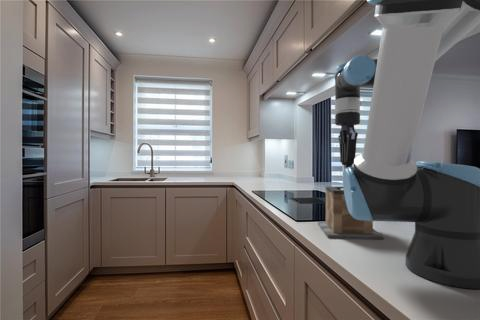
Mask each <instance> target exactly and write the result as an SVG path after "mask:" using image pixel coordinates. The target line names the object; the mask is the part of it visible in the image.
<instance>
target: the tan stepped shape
mask: <svg viewBox="0 0 480 320" xmlns="http://www.w3.org/2000/svg"><path fill="white" fill-rule="evenodd" d="M340 188H343V186H325V221H318V222H317V225H318V226H319V228H320V230H321V231H322V232H323V233H324V235H325V236H326V238H327V239H350V240H351V239H353V240H356V239H357V240H359V239H360V240H384V235H383V234H381V233H380V232H378V231H377V230H375V228H373V227H374V224H373V223H374V221H373V222H371V221H364V220H357V219H354V218H353V217H352V216H351V215H350V213H349V211H348V208H347V205H346V200H345V195H344V190H340Z"/></svg>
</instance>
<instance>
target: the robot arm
mask: <svg viewBox="0 0 480 320" xmlns="http://www.w3.org/2000/svg"><path fill="white" fill-rule="evenodd" d="M366 2H367V3H368V4H371V6H374V5H375V9H374V15H373V16H374V18H375V19H376V20H377V21H378V22H379V23H380V25H381V27H382V29H381V36H380V40H379V49H378V55H377V58H372V57H371V56H369V55H365V54H359V55H356V56H354V57H352V58H351V59H350V60H349V61H348V62H343V63H340V64H338V65H337V66H336V67H335V70H334V71H335V72H334V73H335V75H334V86H335V87H334V88H335V89H334V94H335V95H334V96H335V97H334V98H335V100H334V112H335V113H336V114H335V115H334V117H335V118H334V123H335V125H336V126H341V127H340V131H339V134H338V142H339V143H338V144H339V156H340V163H341V165H342V187H343V188H344V195H345V200H346V205H347V208H348V211H349V213H350V215H351V216H352V217H353V218H354V219H357V220H364V221H371V222H373V223H374V222H396V223H397V222H398V223H399V222H400V223H401V222H403V223H414V234H412V239H411V241H410V242H409V246H408V248H407V251H406V253H405V266H406V268H408V270H409V271H411V272H412V273H414V274H416V275H418V276H419V277H421V278H424V279H427V280H429V281H433V282H436V283H438V284H442V285H446V286H450V287H451V286H452V287H456V288H464V289H472V290H473V289H474V290H480V168H479V167H477V166H472V165H471V166H470V165H466V164H456V163H448V162H447V163H446V162H439V161H438V162H436V161H424V160H418V161H417V160H416V162H415V161H414V160H412V155H413V152H414V147H415V143H416V139H417V136H418V131H419V127H420V124H421V120H422V115H423V111H424V109H425V108H424V107H425V104H426V100H427V95H428V92H429V87H430V83H431V80H432V75H433V71H434V67H435V64H436V61H437V60H439V59H440V58H441V57H442V56H443V55H444V54H446V52H448V51H449V50H451V48H452V47H454V45H455V44H457V43H458V42H460V41H461V40H462V39H463V38H464V37H466V36H467V34H468V33H470V32H471V31H472V30H473V29H475V28H476V26H478V25H479V24H480V0H366ZM367 87H368V88H370V87H372V95H371V99H370V100H371V101H370V106H369V107H370V108H369V112H368V119H367V125H366V131H365V133H366V134H365V138H364V145H363V151H362V152H361V153H358V154H357V155H356V152H357V151H356V148H357V139H358V136H359V134H358V132H356V130H355V126H357V125H360V123H361V113H360V112H359V111H361V110H360V109H361V108H360V107H361V105H362V102H361V88H367Z"/></svg>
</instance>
